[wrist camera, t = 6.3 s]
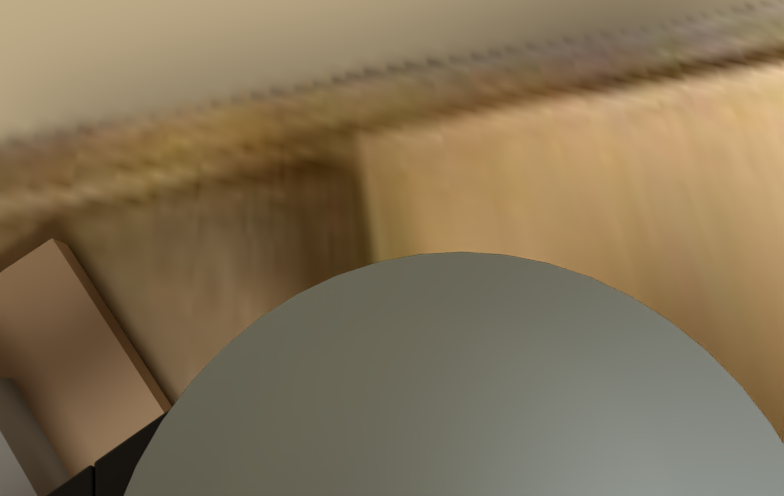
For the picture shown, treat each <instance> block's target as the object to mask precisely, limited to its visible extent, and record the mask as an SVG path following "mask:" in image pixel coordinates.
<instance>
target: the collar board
mask: <svg viewBox="0 0 784 496" xmlns="http://www.w3.org/2000/svg"><path fill="white" fill-rule="evenodd" d="M171 408H172V406H171V404H170V403H169V401H168V400H167V398H166V397H165V395H164V393H163V392H162V390H161V389H160V387H159V386H158V384H157V383H156V381H155V379H154V378H153V376H152V375H151V373H150V372H149V370H148V369H147V367H146V366H145V364H144V362H143V361H142V359H141V358H140V356H139V355H138V353H137V352H136V350H135V349H134V347H133V345H132V344H131V342H130V341H129V339H128V338H127V336H126V335H125V333H124V332H123V330H122V328H121V327H120V325H119V324H118V322H117V321H116V319H115V318H114V316H113V315H112V313H111V311H110V310H109V308H108V307H107V305H106V304H105V302H104V301H103V299H102V298H101V296H100V294H99V293H98V291H97V290H96V288H95V287H94V285H93V284H92V282H91V281H90V279H89V277H88V276H87V274H86V273H85V271H84V270H83V268H82V267H81V265H80V263H79V262H78V260H77V259H76V257H75V256H74V254H73V253H72V251H71V250H70V248H69V246H68V245H67V244H65V243H62V242H60V241H58V240H55V239H53V238H51V239H50V240H48V241H47V242H45V243H44V244H42V245H41V246H39V247H38V248H36V249H35V250H33V251H32V252H30V253H29V254H27V255H26V256H24V257H23V258H21V259H20V260H18V261H17V262H15V263H14V264H12V265H10V266H9V267H7V268H6V269H4V270H3V271H1V272H0V496H45V495H47V494H48V493H50V492H51V491H53V490H54V489H56V488H57V487H59V486H60V485H62V484H63V483H65V482H66V481H68V480H69V479H71V478H72V477H73V476H75V475H76V474H78V473H79V472H81V471H82V470H83V469H85V468H86V467H88V466H89V465H92V466H94V463H95V461H97V460H98V459H99V458H101V457H102V456H104V455H105V454H107V453H108V452H109V451H111V450H112V449H114V448H115V447H117V446H118V445H119V444H121V443H122V442H124V441H125V440H127V439H128V438H129V437H131V436H132V435H134V434H135V433H137V432H138V431H139V430H141V429H142V428H144V427H145V426H147V425H148V424H149V423H151V422H152V421H154V420H155V419H157V418H158V417H159V416H161V415H162V414H164V413H165V412H167V411H168V410H169V409H171Z"/></svg>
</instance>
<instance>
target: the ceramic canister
mask: <svg viewBox="0 0 784 496" xmlns="http://www.w3.org/2000/svg"><path fill="white" fill-rule="evenodd" d="M124 496H784V444H783V442H782V441H781V439H780V438H779V436H778V434H777V433H776V431H775V430H774V428H773V426H772V425H771V423H770V422H769V421H768V420H767V418H766V417H765V416H764V414H763V413H762V412H761V411H760V409H759V408H758V407H757V405H756V404H755V403H754V402H753V400H752V399H751V398H750V397H749V395H748V394H747V393H746V391H745V390H744V389H743V388H742V386H741V385H740V384H739V383H738V382H737V381H736V380H735V379H734V378H733V377H732V376H731V375H730V374H729V373H728V372H727V371H726V370H725V369H724V368H723V367H722V366H721V365H720V364H719V363H718V362H717V361H716V360H715V359H714V358H713V357H712V356H711V355H710V354H709V353H708V352H707V351H706V350H705V349H704V348H703V347H702V346H700V345H699V344H698V343H697V342H695V341H694V340H693V339H692V338H690V337H689V336H688V335H687V334H685V333H684V332H683V331H682V330H680V329H679V328H678V327H677V326H675V325H674V324H673V323H672V322H671V321H669V320H668V319H666V318H664V317H663V316H661V315H660V314H658V313H656V312H655V311H653V310H652V309H650V308H649V307H647V306H645V305H644V304H642V303H641V302H639V301H637V300H636V299H634V298H633V297H631V296H629V295H627V294H625V293H623V292H621V291H618V290H616V289H614V288H612V287H610V286H608V285H606V284H604V283H602V282H599V281H597V280H595V279H593V278H591V277H588V276H585V275H582V274H579V273H576V272H573V271H570V270H567V269H564V268H561V267H558V266H555V265H552V264H549V263H545V262H540V261H535V260H530V259H524V258H519V257H514V256H509V255H502V254H487V253H473V252H450V253H433V254H419V255H413V256H408V257H403V258H397V259H392V260H387V261H381V262H377V263H374V264H371V265H368V266H364V267H361V268H358V269H355V270H352V271H349V272H346V273H343V274H340V275H337V276H335V277H332V278H330V279H328V280H326V281H324V282H322V283H320V284H318V285H315V286H313V287H311V288H309V289H307V290H305V291H303V292H301V293H299V294H296V295H295V296H293V297H292V298H290V299H289V300H287V301H285V302H284V303H282V304H281V305H279V306H278V307H276V308H274V309H273V310H271V311H270V312H268V313H267V314H265V315H263V316H262V317H260V318H259V319H258V320H256V321H255V322H254V323H253V324H252V325H250V326H249V327H248V328H247V329H245V330H244V331H243V332H242V333H241V334H239V335H238V336H237V337H236V338H235V339H233V340H232V341H231V342H230V343H229V344H227V345H226V346H225V347H224V348H223V349H222V350H221V351H220V352H219V353H218V354H217V355H216V356H215V357H214V358H213V359H212V360H211V361H210V362H209V363H208V365H207V366H206V367H205V368H204V369H203V370H202V371H201V372H200V373H199V374H198V375H197V376H196V377H195V378H194V379H193V380H192V381H191V383H190V384H189V385H188V387H187V388H186V389H185V391H184V392H183V393H182V395H181V396H180V397H179V399H178V400H177V402H176V403H175V404H174V406H173V407H172V408H171V410H170V411H169V412H168V414H167V415H166V416H165V418H164V419H163V420H162V422H161V424H160V425H159V427H158V429H157V431H156V432H155V434H154V436H153V438H152V439H151V441H150V443H149V445H148V446H147V448H146V450H145V452H144V453H143V455H142V457H141V459H140V460H139V462H138V464H137V466H136V468H135V470H134V473H133V475H132V477H131V480H130V482H129V484H128V487H127V489H126V491H125V494H124Z"/></svg>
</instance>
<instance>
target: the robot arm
mask: <svg viewBox="0 0 784 496" xmlns="http://www.w3.org/2000/svg"><path fill="white" fill-rule="evenodd" d="M170 410H171V409H169V410H168V411H167V412H165V413H164V414H162V415H161V416H159V417H158V418H157V419H155V420H154V421H152V422H151V423H149V424H148V425H147V426H145V427H144V428H142V429H141V430H139V431H138V432H137V433H135V434H134V435H132V436H131V437H129V438H128V439H127V440H125V441H124V442H122V443H121V444H119V445H118V446H117V447H115V448H114V449H112V450H111V451H109V452H108V453H107V454H105V455H104V456H102V457H101V458H99V459H98V460H97V461H95V463H94V466H92V465H89V466H88V467H86V468H85V469H83V470H82V471H81V472H79V473H78V474H76V475H75V476H73V477H72V478H71V479H69V480H68V481H66V482H65V483H63V484H62V485H60V486H59V487H57V488H56V489H54V490H53V491H51V492H50V493H48V494H47V495H45V496H124V494H125V491H126V489H127V487H128V484H129V482H130V480H131V477H132V475H133V473H134V470H135V468H136V466H137V464H138V462H139V460H140V459H141V457H142V455H143V453H144V452H145V450H146V448H147V446H148V445H149V443H150V441H151V439H152V438H153V436H154V434H155V432H156V431H157V429H158V427H159V425H160V424H161V422H162V420H163V419H164V418H165V416H166V415H167V414H168V412H169V411H170Z"/></svg>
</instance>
